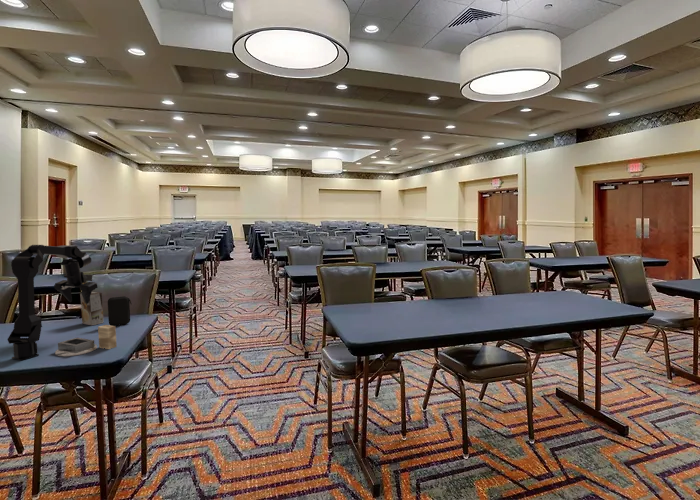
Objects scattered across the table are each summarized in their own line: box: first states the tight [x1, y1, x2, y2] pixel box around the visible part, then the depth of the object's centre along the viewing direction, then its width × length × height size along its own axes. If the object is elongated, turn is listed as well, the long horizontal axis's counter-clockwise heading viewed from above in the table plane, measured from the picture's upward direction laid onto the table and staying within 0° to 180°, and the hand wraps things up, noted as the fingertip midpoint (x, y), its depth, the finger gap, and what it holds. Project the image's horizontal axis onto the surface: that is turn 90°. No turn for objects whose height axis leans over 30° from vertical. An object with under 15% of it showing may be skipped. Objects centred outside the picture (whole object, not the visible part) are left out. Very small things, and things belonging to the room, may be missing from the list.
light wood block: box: [97, 324, 118, 350], centre depth 173 cm, size 4×6×9 cm, turn 67°
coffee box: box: [79, 291, 104, 326], centre depth 212 cm, size 9×6×16 cm
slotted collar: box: [54, 337, 98, 358], centre depth 169 cm, size 14×14×4 cm
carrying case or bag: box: [107, 295, 132, 327], centre depth 208 cm, size 11×3×15 cm, turn 127°
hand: (79, 302), depth 193 cm, fingers open, 9 cm apart
